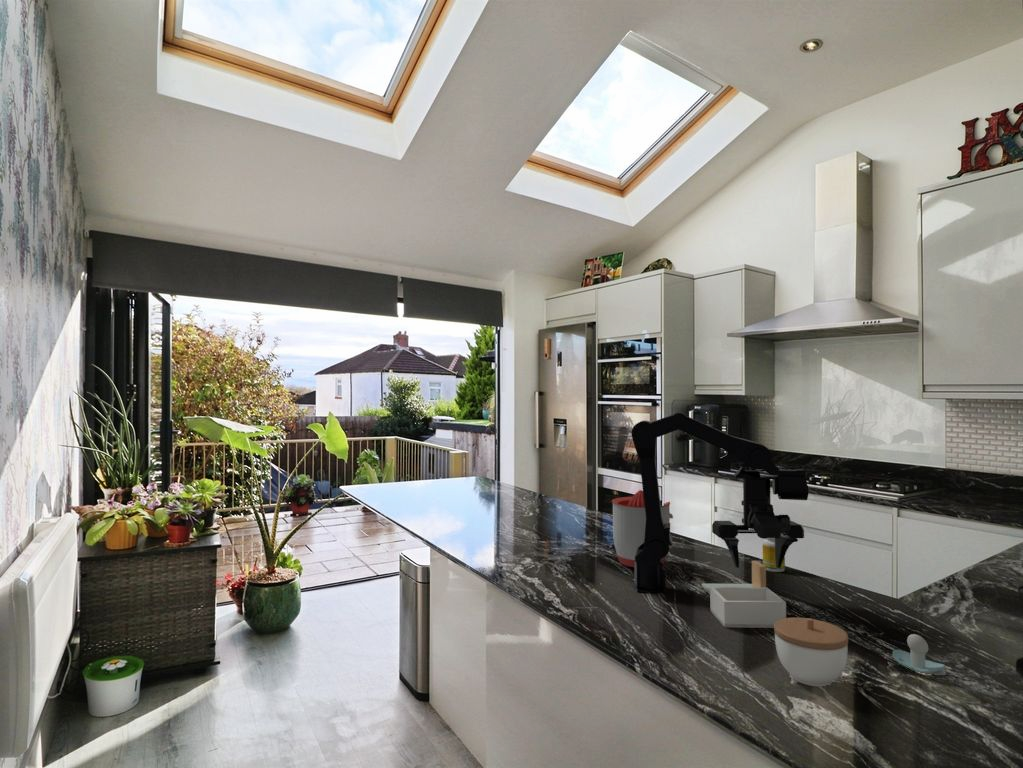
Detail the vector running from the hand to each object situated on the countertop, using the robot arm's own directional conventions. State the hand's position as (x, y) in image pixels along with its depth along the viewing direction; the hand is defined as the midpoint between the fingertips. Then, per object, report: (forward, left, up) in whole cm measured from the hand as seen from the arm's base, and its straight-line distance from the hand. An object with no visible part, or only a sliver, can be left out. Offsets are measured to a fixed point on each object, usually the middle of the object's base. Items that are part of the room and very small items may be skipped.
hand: (757, 567), depth 133 cm
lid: (-5, 0, -7) cm, 8 cm away
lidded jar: (-6, -38, -7) cm, 39 cm away
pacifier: (+13, -35, -7) cm, 38 cm away
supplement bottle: (+13, +22, -7) cm, 26 cm away
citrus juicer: (-20, +27, -7) cm, 34 cm away
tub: (-7, -13, -7) cm, 16 cm away
